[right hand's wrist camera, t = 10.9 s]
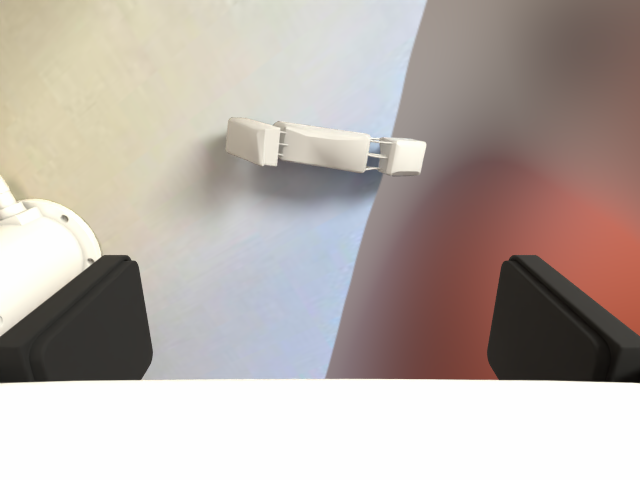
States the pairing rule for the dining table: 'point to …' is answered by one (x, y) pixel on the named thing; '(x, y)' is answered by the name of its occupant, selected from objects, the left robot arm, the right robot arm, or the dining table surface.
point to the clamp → (321, 147)
